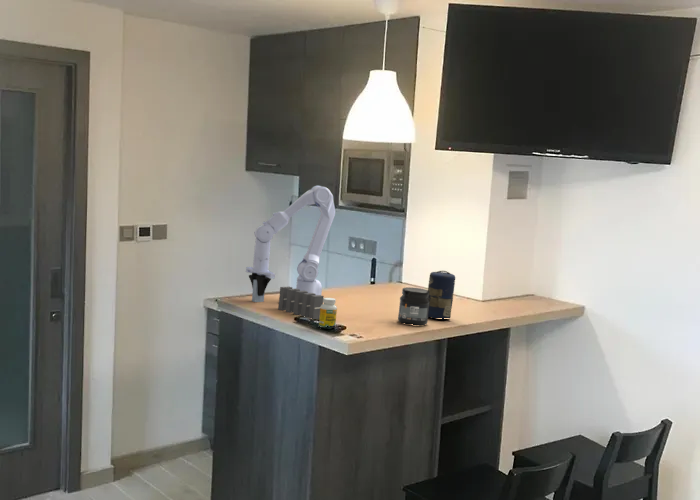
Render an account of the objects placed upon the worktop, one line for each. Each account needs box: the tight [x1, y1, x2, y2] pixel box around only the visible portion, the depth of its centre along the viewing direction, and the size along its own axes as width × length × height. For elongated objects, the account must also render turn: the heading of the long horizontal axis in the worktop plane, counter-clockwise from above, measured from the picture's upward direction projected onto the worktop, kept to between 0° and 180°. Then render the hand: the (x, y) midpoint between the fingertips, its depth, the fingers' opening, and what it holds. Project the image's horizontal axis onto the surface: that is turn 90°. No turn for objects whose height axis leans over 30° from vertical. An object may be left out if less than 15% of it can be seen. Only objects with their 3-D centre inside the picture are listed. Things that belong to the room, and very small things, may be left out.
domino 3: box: [285, 288, 300, 314], centre depth 266 cm, size 2×4×8 cm, turn 135°
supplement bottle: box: [318, 297, 338, 327], centre depth 245 cm, size 5×5×10 cm
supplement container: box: [397, 286, 430, 326], centre depth 267 cm, size 10×10×12 cm
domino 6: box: [308, 294, 325, 320], centre depth 258 cm, size 2×4×8 cm, turn 135°
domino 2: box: [277, 286, 293, 311], centre depth 269 cm, size 2×4×8 cm, turn 135°
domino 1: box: [251, 279, 266, 303], centre depth 279 cm, size 2×4×8 cm, turn 135°
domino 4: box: [293, 291, 308, 316], centre depth 263 cm, size 2×4×8 cm, turn 136°
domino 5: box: [300, 293, 316, 318], centre depth 260 cm, size 2×4×8 cm, turn 135°
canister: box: [427, 270, 456, 319], centre depth 280 cm, size 10×10×18 cm
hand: (258, 294), depth 279 cm, fingers closed on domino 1, 2 cm apart
